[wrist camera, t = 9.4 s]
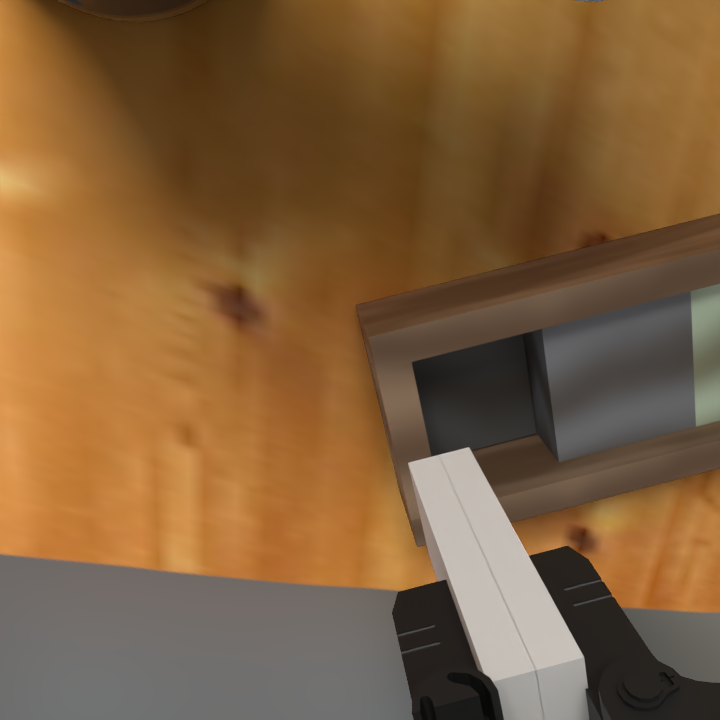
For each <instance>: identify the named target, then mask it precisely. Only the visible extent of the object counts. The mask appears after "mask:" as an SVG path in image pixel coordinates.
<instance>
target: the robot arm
mask: <svg viewBox="0 0 720 720" xmlns="http://www.w3.org/2000/svg"><path fill="white" fill-rule="evenodd" d="M57 1H59V2H61V3H63V4H65V5H68V6H70V7H72V8H75V9H77V10H80V11H82V12H85V13H88V14H91V15H94V16H98V17H102V18H107V19H111V20H119V21H131V22H141V21H153V20H160V19H165V18H169V17H173V16H176V15H180V14H182V13H185V12H187V11H190V10H192V9H194V8H196V7H198V6H200V5H202V4H203V3H205V2H207V1H208V0H57ZM577 1H585V2H597V1H604V0H577ZM408 465H409V470H410V474H411V478H412V483H413V487H414V491H415V496H416V500H417V505H418V509H419V513H420V518H421V522H422V527H423V531H424V535H425V540H426V544H427V548H428V553H429V556H430V559H431V562H432V565H433V568H434V571H435V574H436V577H437V580H438V582H434V583H431V584H427V585H423V586H419V587H415V588H412V589H408V590H404V591H400V592H398V594H397V598H396V601H395V605H394V608H393V612H392V614H393V619H394V623H395V628H396V632H397V636H398V641H399V645H400V650H401V654H402V659H403V663H404V667H405V672H406V676H407V680H408V685H409V690H410V694H411V698H412V715H413V718H414V720H720V683H710V682H702V681H701V682H700V681H695V680H692V679H689V678H685V677H682V676H680V675H679V674H678V673H677V672H676V671H675V670H674V669H673V668H671V667H669V666H667V665H665V664H663V663H661V662H659V661H658V660H657V659H656V658H655V657H654V656H653V655H652V653H651V652H650V650H649V649H648V648H647V646H646V645H645V643H644V642H643V640H642V639H641V637H640V636H639V634H638V633H637V631H636V630H635V628H634V627H633V625H632V624H631V622H630V621H629V619H628V618H627V616H626V615H625V613H624V612H623V610H622V609H621V607H620V606H619V604H618V603H617V601H616V600H615V598H614V597H612V595H611V592H610V591H609V589H608V588H607V586H606V585H605V583H604V582H602V580H601V578H600V576H599V575H598V573H597V572H596V570H595V569H594V567H593V566H592V564H591V563H590V561H589V560H588V559H587V558H585V557H584V556H582V555H581V554H579V553H578V552H576V551H575V550H573V549H572V548H570V547H569V546H565V547H561V548H557V549H554V550H550V551H546V552H542V553H538V554H534V555H531V556H528V554H527V552H526V550H525V548H524V547H523V545H522V543H521V541H520V539H519V537H518V536H517V534H516V532H515V530H514V528H513V527H512V525H511V523H510V521H509V519H508V517H507V516H506V514H505V512H504V510H503V508H502V506H501V505H500V503H499V501H498V499H497V497H496V495H495V494H494V492H493V490H492V488H491V486H490V485H489V483H488V481H487V479H486V477H485V475H484V474H483V472H482V470H481V468H480V466H479V464H478V463H477V461H476V459H475V457H474V455H473V454H472V452H471V450H470V448H469V447H467V448H464V449H460V450H456V451H452V452H448V453H444V454H440V455H436V456H433V457H429V458H425V459H421V460H417V461H413V462H409V463H408Z"/></svg>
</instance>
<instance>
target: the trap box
mask: <svg viewBox="0 0 720 720" xmlns="http://www.w3.org/2000/svg"><path fill="white" fill-rule="evenodd" d="M356 308H357V313H358V317H359V321H360V325H361V330H362V334H363V338H364V342H365V346H366V351H367V355H368V359H369V363H370V367H371V372H372V376H373V380H374V384H375V389H376V393H377V397H378V401H379V405H380V410H381V414H382V418H383V422H384V427H385V431H386V435H387V439H388V443H389V448H390V452H391V456H392V460H393V464H394V469H395V473H396V477H397V481H398V486H399V490H400V494H401V497H402V500H403V504H404V507H405V510H406V513H407V516H408V519H409V523H410V526H411V529H412V532H413V535H414V539H415V542H416V545H417V547H420V546H424V545H427V544H426V540H425V535H424V531H423V527H422V522H421V518H420V513H419V509H418V505H417V500H416V496H415V491H414V487H413V483H412V478H411V474H410V470H409V465H408V463H409V462H413V461H417V460H421V459H425V458H429V457H433V456H436V455H440V454H444V453H448V452H452V451H456V450H460V449H464V448H467V447H469V448H470V450H471V452H472V454H473V455H474V457H475V459H476V461H477V463H478V464H479V466H480V468H481V470H482V472H483V474H484V475H485V477H486V479H487V481H488V483H489V485H490V486H491V488H492V490H493V492H494V494H495V495H496V497H497V499H498V501H499V503H500V505H501V506H502V508H503V510H504V512H505V514H506V516H507V517H508V519H509V521H510V523H512V522H516V521H519V520H523V519H527V518H531V517H535V516H539V515H542V514H546V513H550V512H554V511H558V510H562V509H565V508H569V507H573V506H577V505H581V504H585V503H588V502H592V501H596V500H600V499H604V498H608V497H611V496H615V495H619V494H623V493H627V492H631V491H634V490H638V489H642V488H646V487H650V486H654V485H657V484H661V483H665V482H669V481H673V480H677V479H680V478H684V477H688V476H692V475H696V474H700V473H703V472H707V471H711V470H715V469H719V468H720V214H717V215H713V216H709V217H705V218H701V219H697V220H693V221H689V222H685V223H681V224H677V225H673V226H669V227H665V228H661V229H657V230H653V231H649V232H645V233H641V234H637V235H633V236H629V237H625V238H621V239H617V240H613V241H609V242H605V243H601V244H597V245H593V246H589V247H585V248H581V249H577V250H573V251H569V252H565V253H561V254H557V255H553V256H549V257H545V258H541V259H537V260H533V261H529V262H525V263H521V264H517V265H513V266H509V267H506V268H502V269H498V270H494V271H490V272H486V273H482V274H478V275H474V276H470V277H466V278H462V279H458V280H454V281H450V282H446V283H442V284H438V285H434V286H430V287H426V288H422V289H418V290H414V291H410V292H406V293H402V294H398V295H394V296H390V297H386V298H382V299H378V300H374V301H370V302H366V303H362V304H358V305H356Z"/></svg>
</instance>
